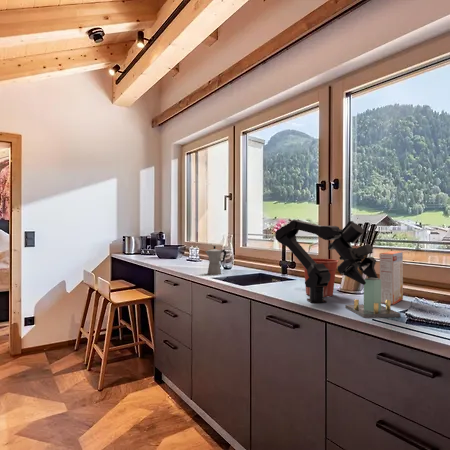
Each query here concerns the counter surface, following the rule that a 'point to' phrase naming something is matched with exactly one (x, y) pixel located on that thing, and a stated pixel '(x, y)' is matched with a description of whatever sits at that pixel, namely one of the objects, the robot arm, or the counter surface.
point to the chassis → (376, 313)
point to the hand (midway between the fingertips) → (371, 282)
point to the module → (372, 293)
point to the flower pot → (332, 268)
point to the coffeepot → (215, 260)
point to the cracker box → (391, 276)
